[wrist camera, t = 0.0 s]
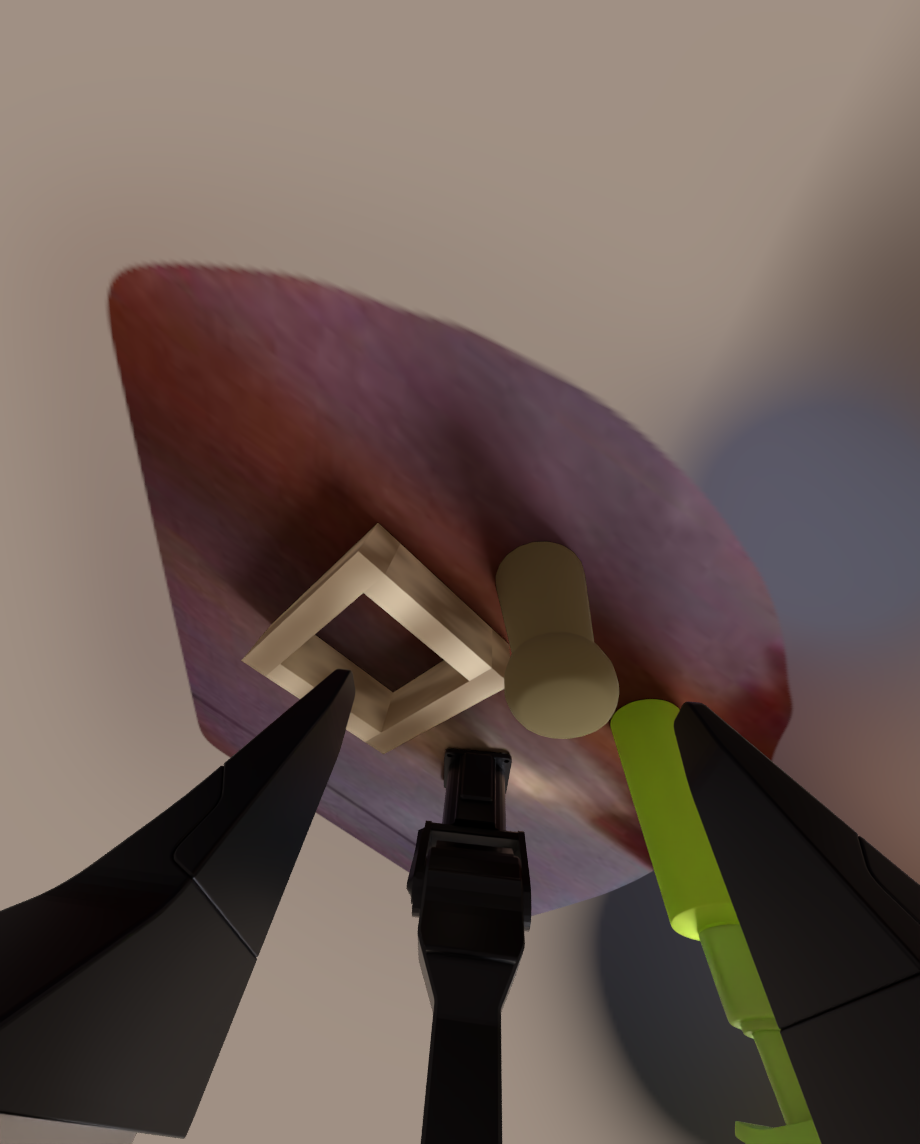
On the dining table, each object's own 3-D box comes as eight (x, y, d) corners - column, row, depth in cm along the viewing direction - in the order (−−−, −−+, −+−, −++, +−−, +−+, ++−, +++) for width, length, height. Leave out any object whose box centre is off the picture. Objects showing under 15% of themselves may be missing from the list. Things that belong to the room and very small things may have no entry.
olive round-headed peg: (481, 597, 26) (473, 734, 17) (519, 527, 23) (536, 645, 14) (556, 626, 27) (588, 772, 18) (602, 562, 24) (671, 696, 15)
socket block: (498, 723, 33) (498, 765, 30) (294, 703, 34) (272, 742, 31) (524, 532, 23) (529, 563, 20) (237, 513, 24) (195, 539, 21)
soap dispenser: (595, 742, 33) (698, 1148, 16) (627, 692, 30) (804, 1147, 13) (656, 754, 34) (822, 1170, 17) (696, 707, 30) (960, 1174, 13)
